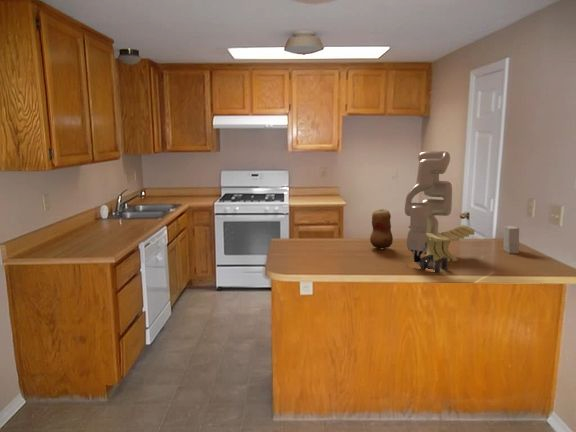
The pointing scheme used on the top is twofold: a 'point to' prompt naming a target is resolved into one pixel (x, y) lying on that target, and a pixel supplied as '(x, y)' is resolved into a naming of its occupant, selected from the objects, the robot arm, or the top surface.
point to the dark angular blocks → (437, 264)
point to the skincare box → (511, 239)
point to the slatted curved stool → (446, 241)
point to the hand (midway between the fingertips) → (417, 261)
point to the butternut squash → (381, 229)
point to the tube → (428, 264)
